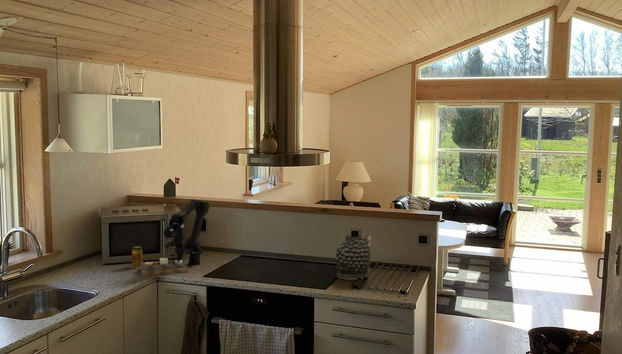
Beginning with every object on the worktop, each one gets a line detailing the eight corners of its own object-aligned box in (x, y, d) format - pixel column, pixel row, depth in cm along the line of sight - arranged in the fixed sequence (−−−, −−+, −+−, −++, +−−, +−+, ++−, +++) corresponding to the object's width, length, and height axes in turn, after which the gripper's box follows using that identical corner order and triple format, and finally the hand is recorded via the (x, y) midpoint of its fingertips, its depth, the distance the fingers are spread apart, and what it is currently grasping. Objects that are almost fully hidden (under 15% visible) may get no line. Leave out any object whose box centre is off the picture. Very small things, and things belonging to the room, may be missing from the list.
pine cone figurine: (364, 272, 344) (365, 231, 341) (374, 279, 330) (375, 236, 327) (331, 275, 338) (331, 232, 335) (340, 282, 323) (341, 238, 321)
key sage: (182, 265, 349) (182, 260, 348) (182, 266, 344) (182, 261, 344) (174, 265, 347) (174, 260, 347) (175, 267, 343) (175, 262, 343)
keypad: (185, 266, 354) (185, 258, 354) (187, 272, 341) (187, 264, 340) (140, 269, 346) (140, 261, 346) (141, 275, 333) (141, 267, 332)
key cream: (167, 262, 346) (167, 257, 345) (168, 264, 342) (168, 259, 341) (159, 263, 344) (159, 258, 344) (160, 265, 340) (160, 260, 340)
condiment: (129, 267, 350) (128, 247, 348) (138, 264, 358) (137, 244, 356) (139, 268, 347) (139, 248, 346) (148, 265, 355) (147, 245, 354)
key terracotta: (152, 266, 343) (152, 261, 343) (153, 268, 339) (153, 263, 339) (145, 267, 342) (144, 262, 342) (145, 269, 338) (145, 264, 338)
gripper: (163, 232, 350) (163, 258, 352) (165, 239, 333) (165, 266, 334) (182, 232, 354) (182, 257, 355) (185, 238, 336) (185, 264, 338)
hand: (178, 261), depth 346 cm, fingers closed, pressing on key sage
